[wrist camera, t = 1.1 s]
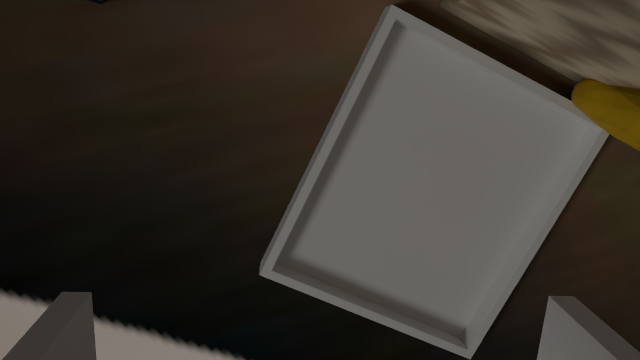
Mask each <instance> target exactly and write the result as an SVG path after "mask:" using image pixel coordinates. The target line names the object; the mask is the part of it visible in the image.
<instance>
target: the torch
mask: <svg viewBox="0 0 640 360" xmlns="http://www.w3.org/2000/svg"><path fill="white" fill-rule="evenodd" d="M571 98H572V102H573V104H574V105H575V106H576V107H577V108H578V109H579V110H580V111H582V112H583V113H584V114H585V115H586V116H587V117H588V118H589V119H591V120H592V121H593V122H594V123H596V124H597V125H598V126H600V127H601V128H602V129H604V130H605V131H606V132H608V133H609V134H610V135H612V136H614V137H615V138H617V139H619V140H620V141H622V142H624V143H626V144H627V145H629V146H631V147H632V148H634V149H636V150H638V151H639V152H640V89H639V88H630V87H622V86H613V85H606V84H604V83H602V82H599V81H597V80H591V79H585V80H582V81H581V82H579V83H577V84H576V85H575V87H574V89H573V91H572V95H571Z"/></svg>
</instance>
